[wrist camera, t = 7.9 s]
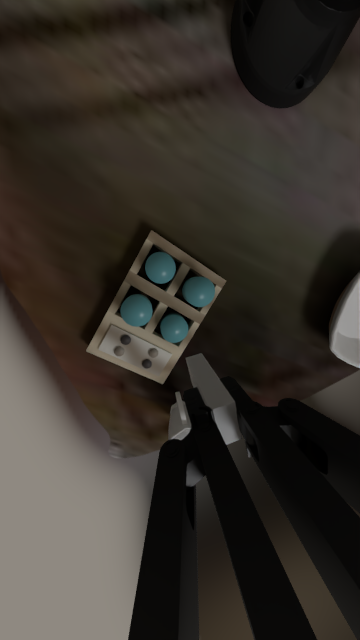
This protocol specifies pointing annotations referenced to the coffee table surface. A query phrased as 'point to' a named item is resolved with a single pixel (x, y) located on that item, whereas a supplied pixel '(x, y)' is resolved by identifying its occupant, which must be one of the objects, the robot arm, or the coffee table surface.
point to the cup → (179, 420)
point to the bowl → (347, 324)
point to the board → (143, 342)
